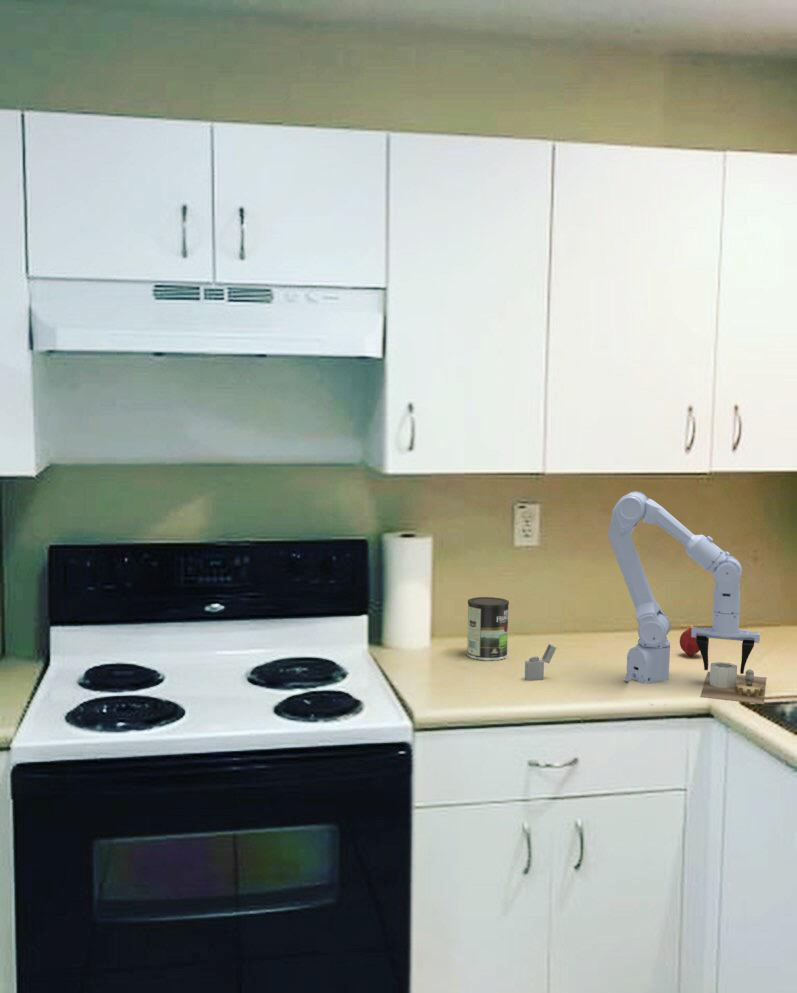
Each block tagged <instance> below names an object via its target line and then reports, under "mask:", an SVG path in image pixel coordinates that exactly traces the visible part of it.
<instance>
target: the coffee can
mask: <svg viewBox="0 0 797 993" xmlns="http://www.w3.org/2000/svg"><path fill="white" fill-rule="evenodd" d="M509 604H510V601H509V600H508V599H505V598H500V597H495V596H494V597H491V596H479V597H472V598H468V600H467V651H466V652H467V653H466V655H468V656H469V657H468V656H467V657H468V658H470V659H473V658H474V659H473V660H477V659H478V660H479V661H489V662H490V661H491V662H492V661H501V659H502V660H505V659H507V658H508V637H509V636H508V632H509V628H508V627H509ZM506 657H507V658H506ZM504 658H505V659H504ZM478 660H477V661H478Z"/></svg>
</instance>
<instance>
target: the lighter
mask: <svg viewBox="0 0 797 993" xmlns="http://www.w3.org/2000/svg"><path fill="white" fill-rule="evenodd" d="M556 650H557V647H556V646H555V645H553V644H550V643H548V645H547V647H546V649H545V652H544V654H543V656H542V657H541V659H540V657H539V656H536V655H535V656H530V657H529V658H528V659H527V660H525V661H524V680H525V681H528V682H529V681H531V682H532V681H543V680H544V679H545V678H544V674H545V672H544V671H545V663H547V664H550V662H551V660H552V658H553V656H554V654H555V652H556Z"/></svg>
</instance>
